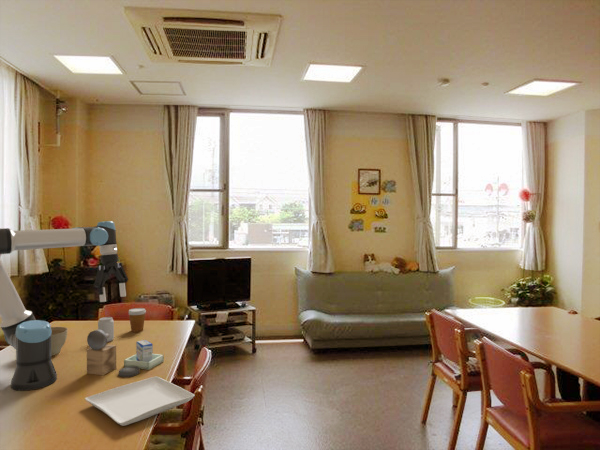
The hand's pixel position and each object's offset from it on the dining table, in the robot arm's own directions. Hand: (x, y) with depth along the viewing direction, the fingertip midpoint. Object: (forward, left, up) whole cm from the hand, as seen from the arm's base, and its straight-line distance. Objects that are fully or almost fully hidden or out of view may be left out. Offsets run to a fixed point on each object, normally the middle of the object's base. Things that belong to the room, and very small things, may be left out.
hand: (113, 299), depth 195 cm
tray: (-6, -21, -27) cm, 34 cm away
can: (+17, +20, -27) cm, 37 cm away
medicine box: (-6, -21, -26) cm, 34 cm away
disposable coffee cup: (+38, +17, -27) cm, 50 cm away
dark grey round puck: (-17, -22, -27) cm, 38 cm away
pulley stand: (-18, -9, -27) cm, 33 cm away
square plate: (-40, -45, -27) cm, 66 cm away
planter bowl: (-8, +31, -27) cm, 42 cm away
